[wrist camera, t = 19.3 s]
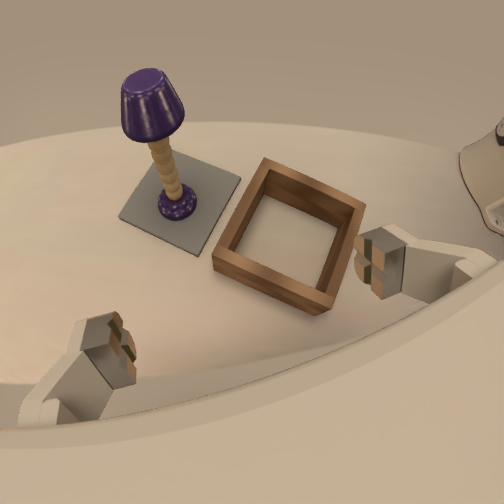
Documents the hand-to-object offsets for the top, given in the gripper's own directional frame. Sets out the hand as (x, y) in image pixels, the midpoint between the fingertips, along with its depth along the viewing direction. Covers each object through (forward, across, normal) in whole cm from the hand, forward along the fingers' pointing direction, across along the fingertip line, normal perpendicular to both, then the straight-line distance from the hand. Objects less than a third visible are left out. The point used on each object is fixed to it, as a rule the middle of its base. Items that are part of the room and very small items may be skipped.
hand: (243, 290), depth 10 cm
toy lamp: (+24, +2, +4) cm, 24 cm away
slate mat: (+25, +2, +4) cm, 25 cm away
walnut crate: (+19, -7, +10) cm, 22 cm away
